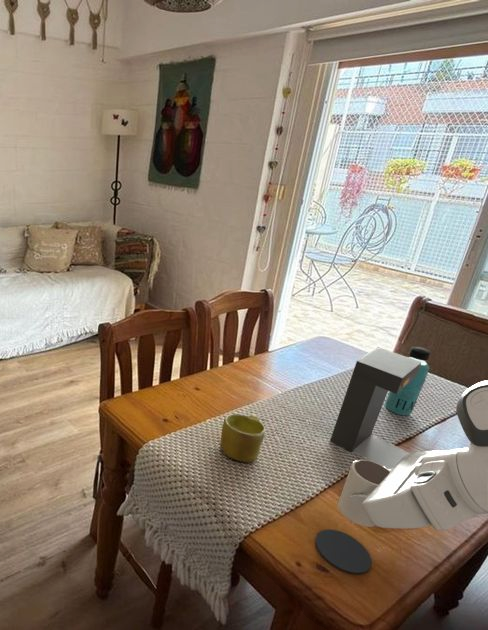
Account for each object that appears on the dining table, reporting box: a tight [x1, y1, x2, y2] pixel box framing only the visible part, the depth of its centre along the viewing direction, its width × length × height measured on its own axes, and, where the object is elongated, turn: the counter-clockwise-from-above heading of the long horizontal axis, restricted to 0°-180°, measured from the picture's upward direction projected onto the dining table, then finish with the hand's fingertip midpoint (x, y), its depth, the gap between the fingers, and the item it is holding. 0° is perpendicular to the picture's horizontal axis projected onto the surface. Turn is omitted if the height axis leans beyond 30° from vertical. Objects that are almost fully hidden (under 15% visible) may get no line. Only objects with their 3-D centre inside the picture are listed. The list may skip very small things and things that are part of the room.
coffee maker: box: [329, 346, 422, 469], centre depth 102 cm, size 14×12×24 cm
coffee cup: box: [337, 459, 390, 528], centre depth 76 cm, size 6×6×9 cm
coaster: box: [314, 528, 372, 575], centre depth 81 cm, size 9×9×1 cm
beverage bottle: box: [384, 346, 431, 416], centre depth 118 cm, size 6×7×20 cm
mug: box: [220, 413, 266, 463], centre depth 105 cm, size 12×10×10 cm
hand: (362, 490), depth 76 cm, fingers closed on coffee cup, 6 cm apart
